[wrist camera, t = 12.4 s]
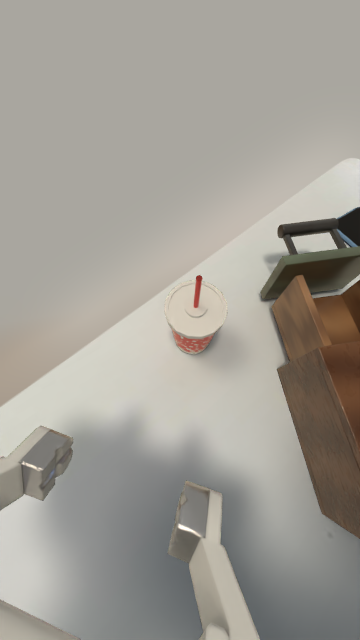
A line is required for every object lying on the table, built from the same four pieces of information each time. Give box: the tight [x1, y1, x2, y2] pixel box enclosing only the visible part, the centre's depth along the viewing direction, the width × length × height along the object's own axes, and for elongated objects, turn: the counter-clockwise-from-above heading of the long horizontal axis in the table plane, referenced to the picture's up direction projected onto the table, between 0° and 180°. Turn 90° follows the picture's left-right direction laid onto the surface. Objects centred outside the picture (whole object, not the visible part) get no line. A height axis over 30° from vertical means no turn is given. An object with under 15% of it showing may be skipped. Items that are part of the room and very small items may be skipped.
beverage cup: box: [164, 275, 227, 354], centre depth 24 cm, size 6×6×14 cm
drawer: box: [261, 218, 360, 362], centre depth 28 cm, size 19×11×8 cm, turn 8°
